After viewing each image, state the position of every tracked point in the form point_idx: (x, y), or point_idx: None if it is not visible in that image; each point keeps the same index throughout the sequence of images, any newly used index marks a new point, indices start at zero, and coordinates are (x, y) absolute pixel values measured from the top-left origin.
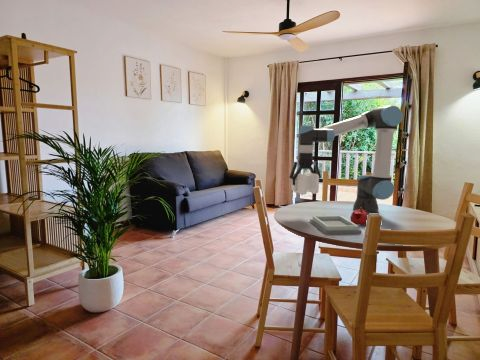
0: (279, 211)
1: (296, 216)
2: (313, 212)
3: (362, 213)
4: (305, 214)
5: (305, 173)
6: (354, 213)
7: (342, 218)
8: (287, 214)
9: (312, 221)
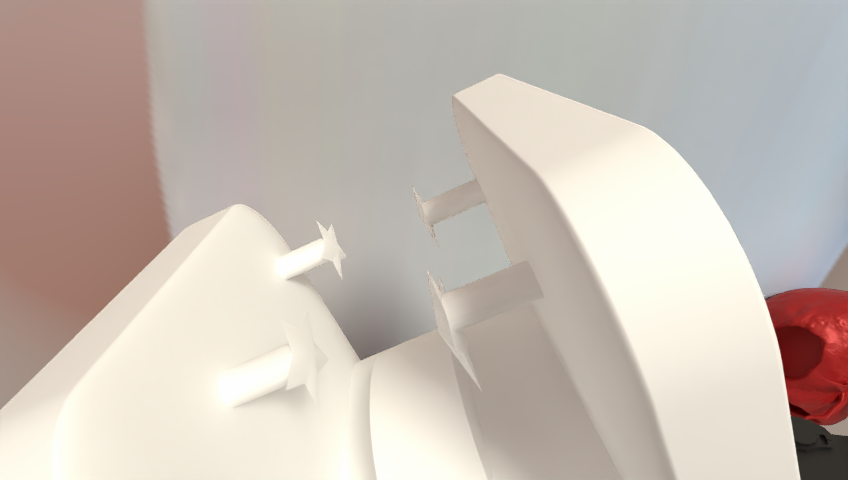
0: (150, 26)
1: (344, 215)
2: (537, 11)
3: (839, 421)
4: (437, 121)
5: (599, 366)
6: (790, 400)
7: None
8: (256, 154)
9: None
